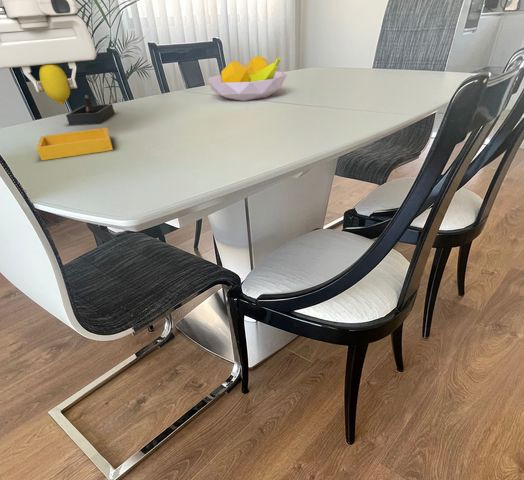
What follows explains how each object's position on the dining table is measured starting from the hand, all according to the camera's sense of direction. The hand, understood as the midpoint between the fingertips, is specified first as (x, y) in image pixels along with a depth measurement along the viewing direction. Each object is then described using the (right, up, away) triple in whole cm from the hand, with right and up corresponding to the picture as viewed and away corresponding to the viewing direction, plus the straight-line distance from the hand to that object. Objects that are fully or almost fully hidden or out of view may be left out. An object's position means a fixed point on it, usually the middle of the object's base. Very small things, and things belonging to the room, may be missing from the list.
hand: (57, 90), depth 84 cm
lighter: (-8, +14, +34) cm, 38 cm away
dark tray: (-8, +14, +34) cm, 38 cm away
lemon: (0, -2, +2) cm, 3 cm away
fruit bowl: (+40, +30, +48) cm, 69 cm away
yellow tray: (+1, -9, +8) cm, 12 cm away
